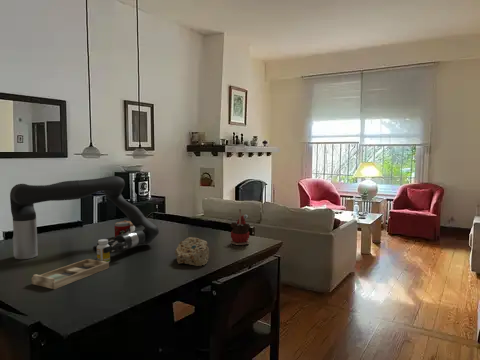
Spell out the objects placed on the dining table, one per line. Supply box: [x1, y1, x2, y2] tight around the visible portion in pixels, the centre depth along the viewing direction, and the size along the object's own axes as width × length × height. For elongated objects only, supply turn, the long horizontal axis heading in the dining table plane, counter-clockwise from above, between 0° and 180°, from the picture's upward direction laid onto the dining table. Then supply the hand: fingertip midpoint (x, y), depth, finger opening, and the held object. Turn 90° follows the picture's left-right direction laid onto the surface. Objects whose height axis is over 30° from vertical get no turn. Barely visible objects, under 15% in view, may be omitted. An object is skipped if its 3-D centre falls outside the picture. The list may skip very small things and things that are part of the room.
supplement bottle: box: [96, 238, 111, 263], centre depth 164 cm, size 5×5×10 cm
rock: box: [174, 236, 210, 267], centre depth 169 cm, size 21×14×10 cm
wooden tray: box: [31, 258, 110, 290], centre depth 147 cm, size 12×26×4 cm, turn 155°
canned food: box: [114, 221, 130, 238], centre depth 193 cm, size 8×8×11 cm
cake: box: [230, 208, 251, 246], centre depth 195 cm, size 11×9×18 cm
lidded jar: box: [114, 219, 136, 232], centre depth 210 cm, size 11×11×9 cm
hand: (98, 249), depth 162 cm, fingers closed on supplement bottle, 5 cm apart
